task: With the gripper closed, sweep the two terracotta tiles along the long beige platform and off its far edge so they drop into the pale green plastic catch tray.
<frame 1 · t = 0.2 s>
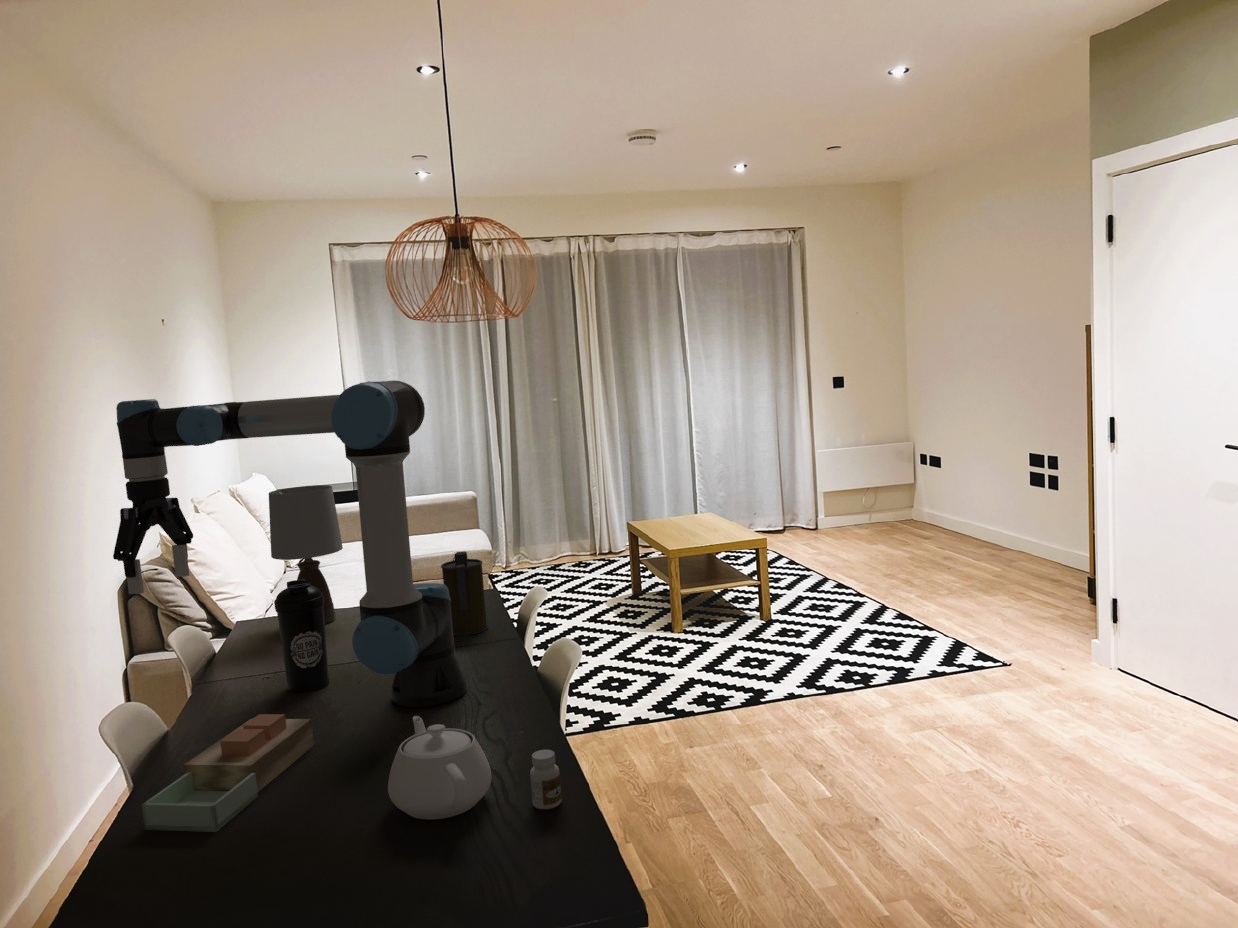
hand: (160, 584, 181), 28 cm above the table, fingers open, 13 cm apart
canister: (467, 630, 234), on the table
lamp: (315, 622, 253), on the table
tile b: (244, 749, 153), point 5 cm above the table, touching long beige platform
water bottle: (308, 686, 199), on the table
tray: (203, 812, 142), on the table
teapot: (440, 802, 141), on the table
tile a: (265, 733, 160), point 5 cm above the table, touching long beige platform
long beige platform: (254, 768, 158), on the table
pill bottle: (547, 804, 138), on the table
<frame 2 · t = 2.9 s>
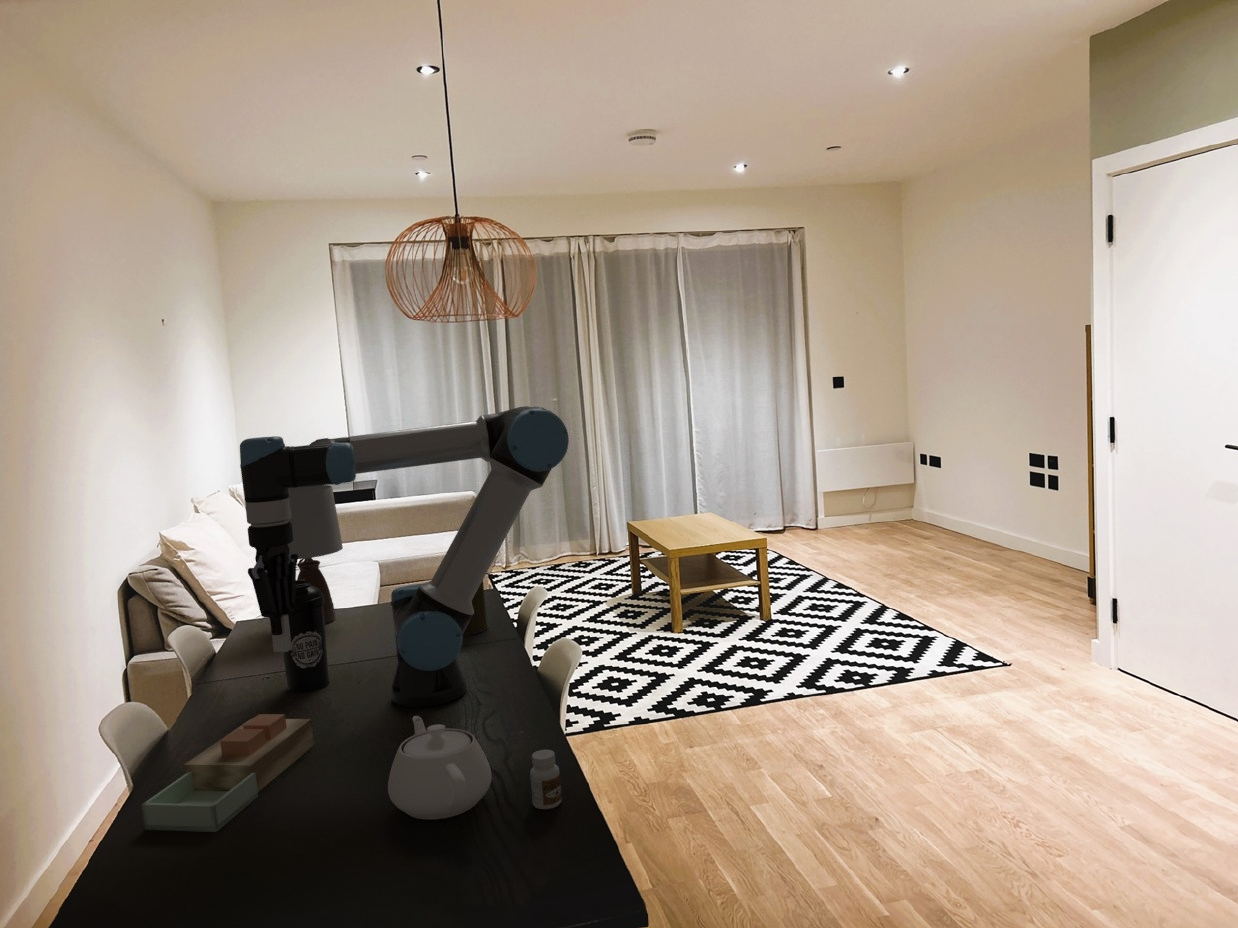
hand: (282, 650, 167), 17 cm above the table, fingers closed
nothing on the table moved.
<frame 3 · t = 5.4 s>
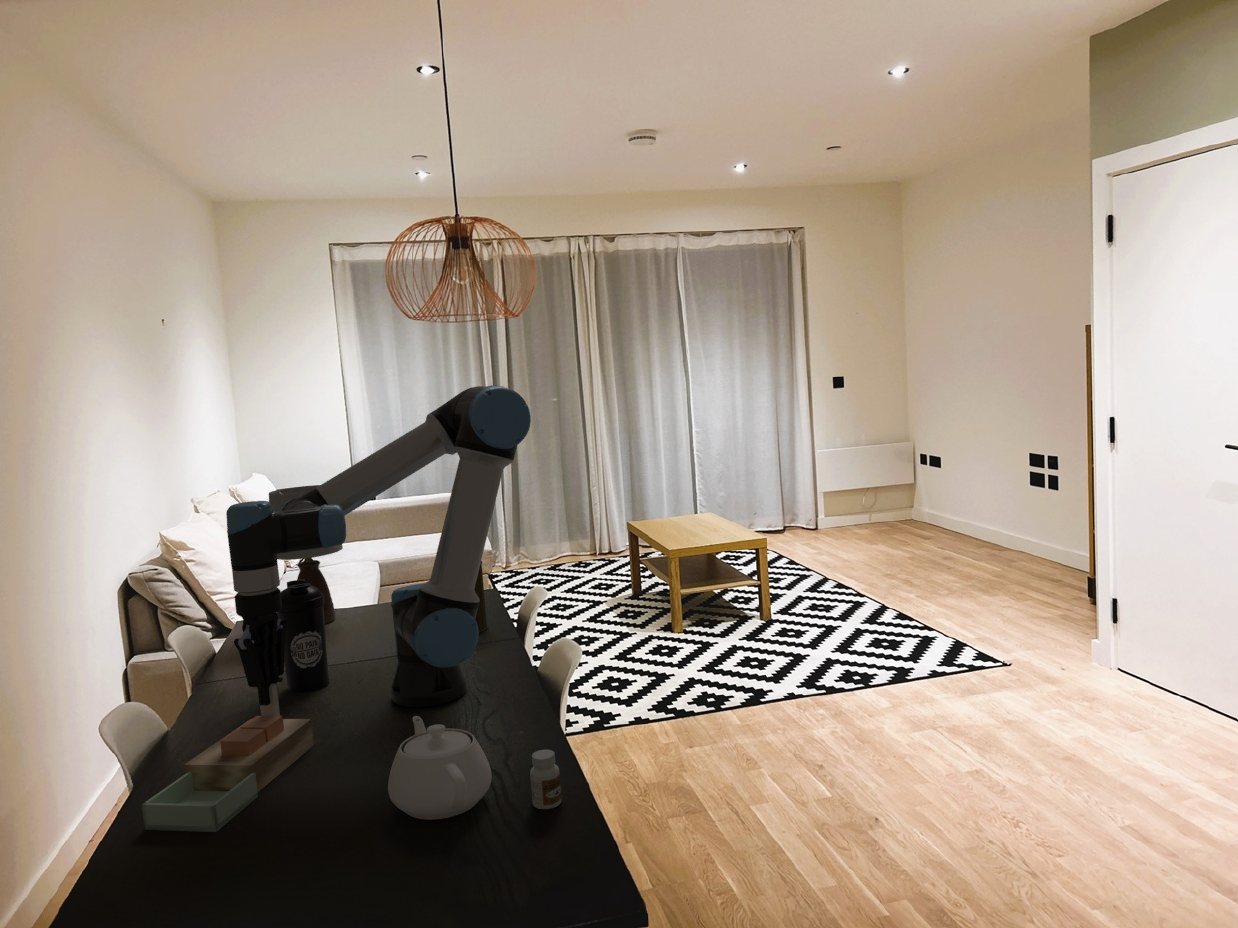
hand: (271, 719, 162), 6 cm above the table, fingers closed
tile a: (263, 735, 159), point 5 cm above the table, touching long beige platform, gripper
everything else where it was.
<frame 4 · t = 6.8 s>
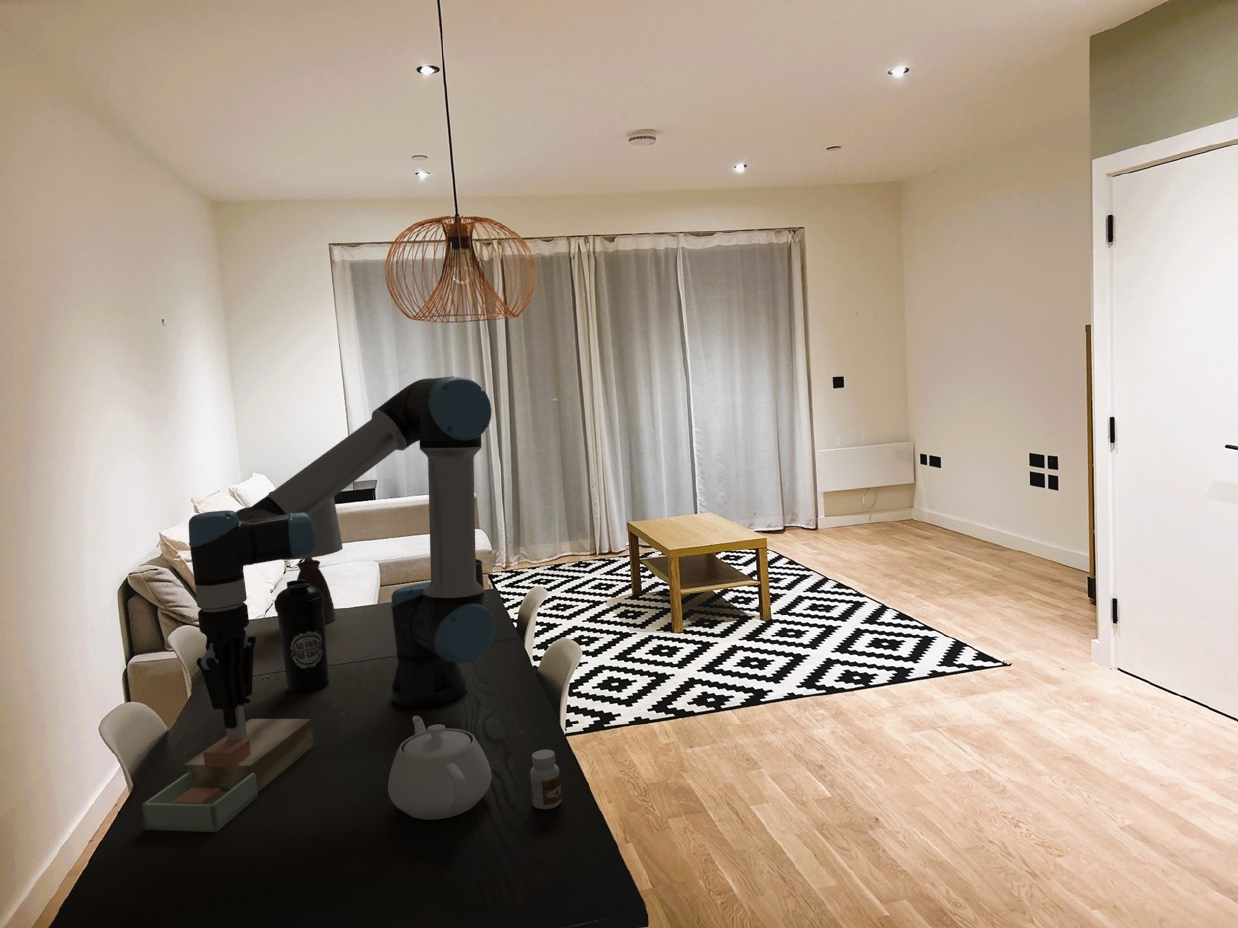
hand: (237, 743, 152), 6 cm above the table, fingers closed
tile b: (196, 794, 141), point 3 cm above the table, tilted 178°, touching tray
tile a: (228, 760, 149), point 5 cm above the table, touching long beige platform, gripper
everything else where it was.
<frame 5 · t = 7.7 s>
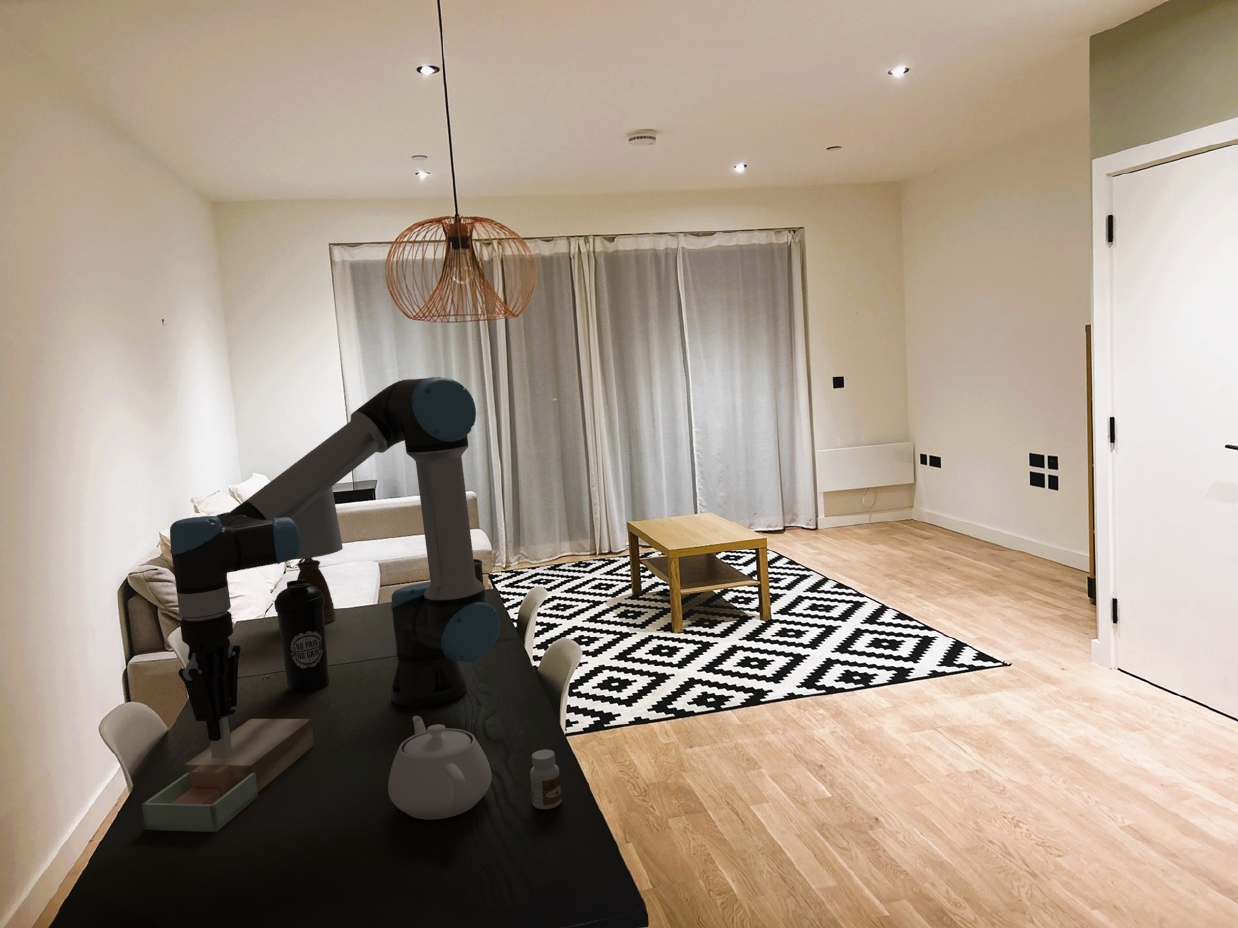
hand: (222, 756, 148), 6 cm above the table, fingers closed
tile a: (216, 780, 146), point 3 cm above the table, tilted 90°, touching tray
everything else where it was.
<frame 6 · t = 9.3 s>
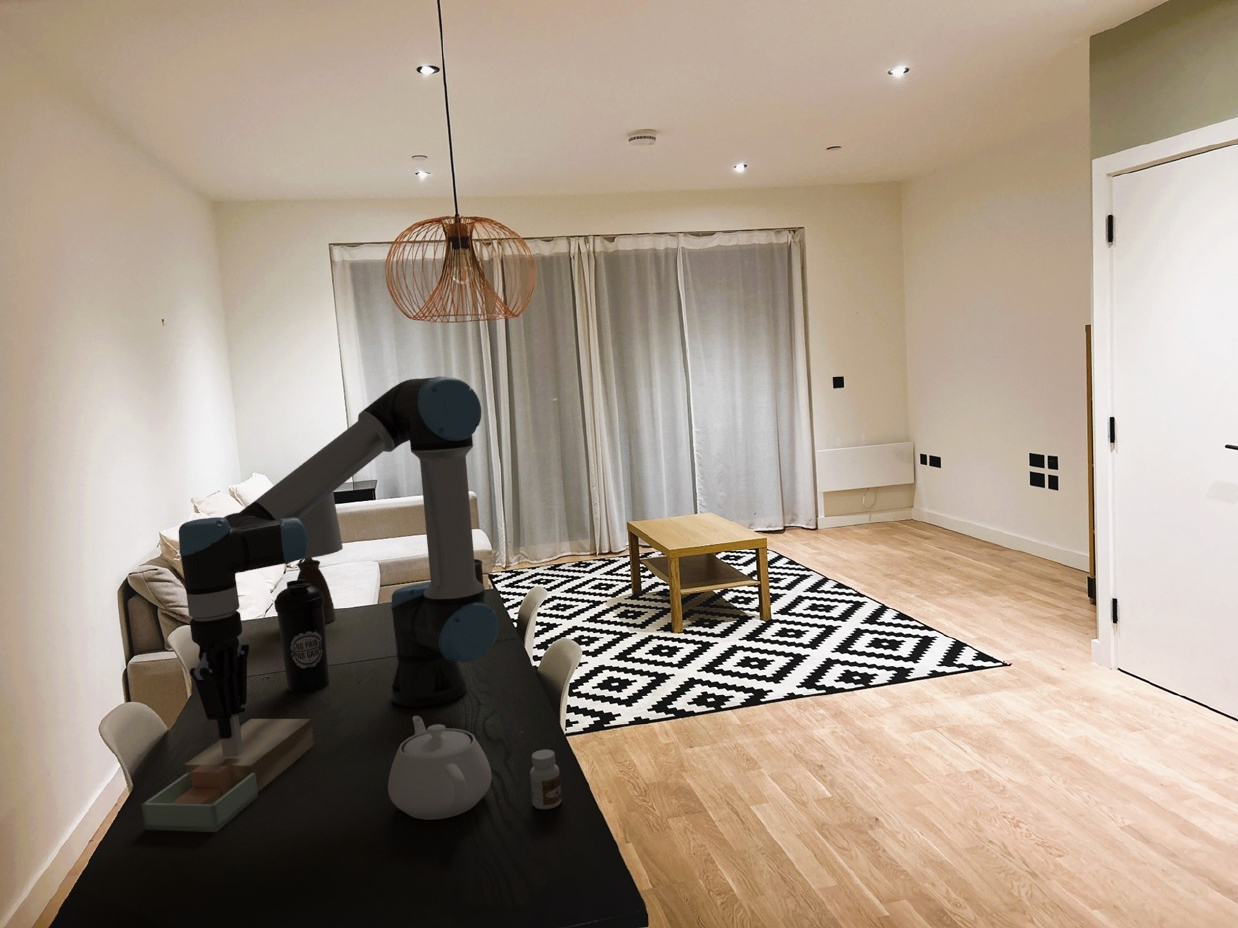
hand: (233, 753, 150), 6 cm above the table, fingers closed
nothing on the table moved.
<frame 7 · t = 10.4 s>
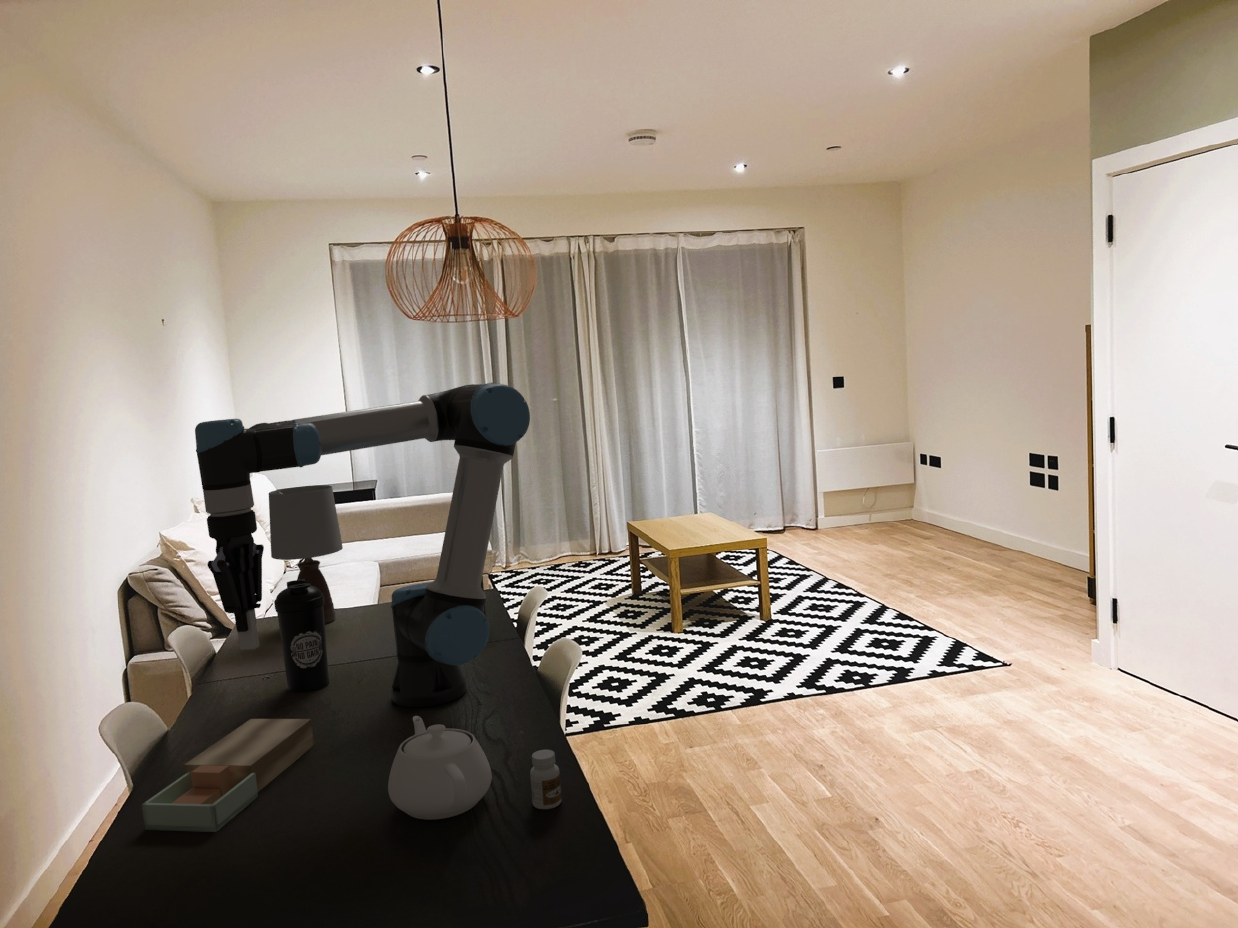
hand: (249, 647, 156), 21 cm above the table, fingers closed
nothing on the table moved.
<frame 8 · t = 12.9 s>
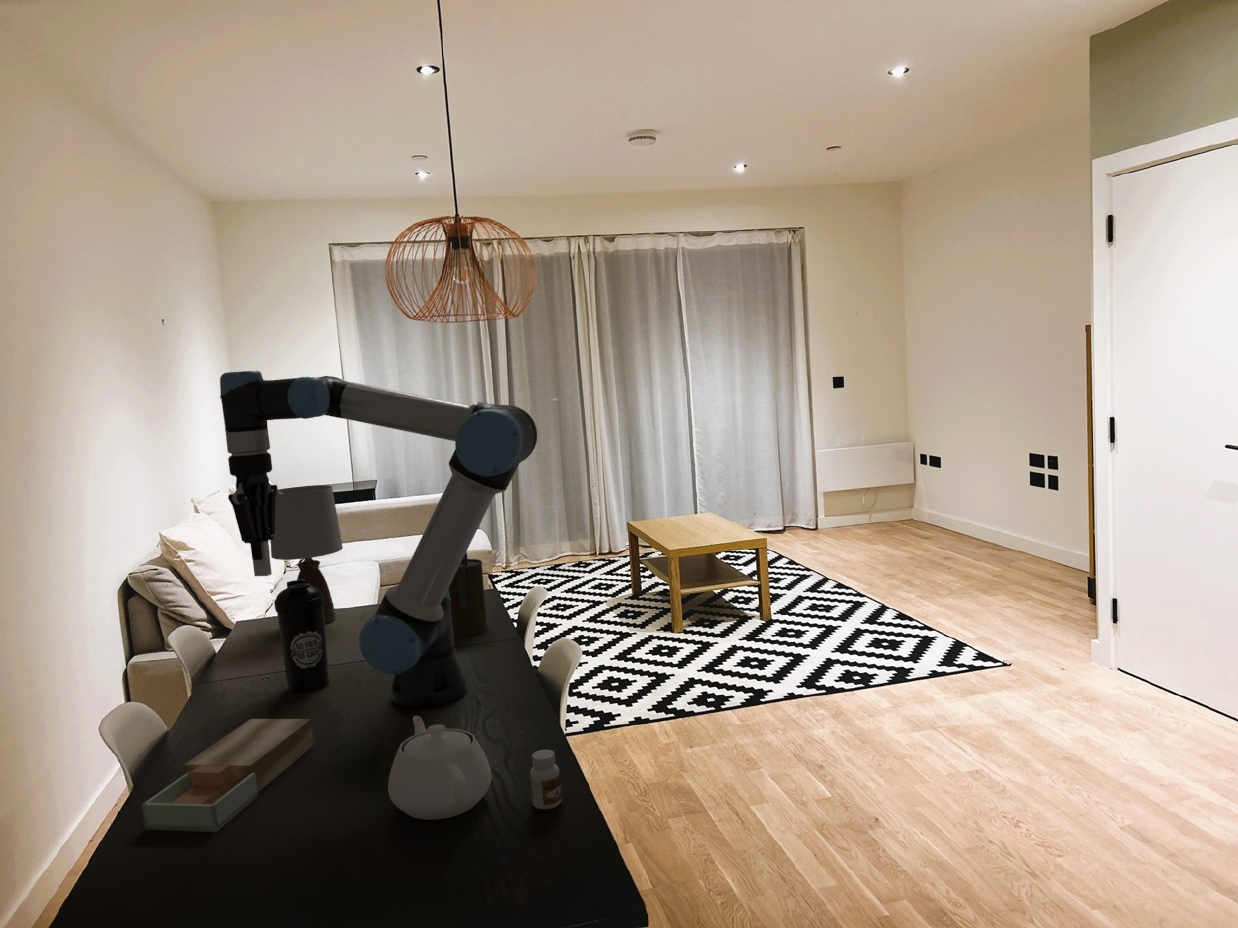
hand: (263, 575, 175), 29 cm above the table, fingers closed
nothing on the table moved.
at the end: tile a inside the target area on the tray (4.0 cm from its centre), point 3.3 cm above the tray's base; tile b inside the target area on the tray (1.5 cm from its centre), point 3.3 cm above the tray's base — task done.
